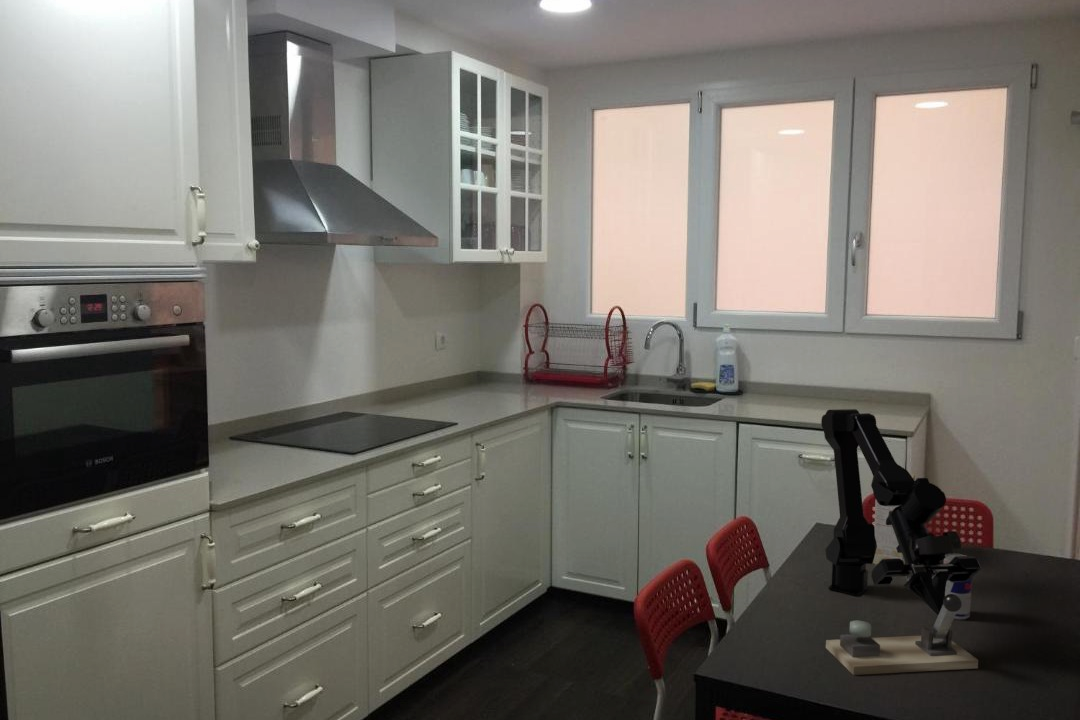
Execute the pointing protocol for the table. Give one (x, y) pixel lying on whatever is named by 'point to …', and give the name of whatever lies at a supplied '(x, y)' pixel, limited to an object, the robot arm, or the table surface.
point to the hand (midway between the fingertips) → (941, 614)
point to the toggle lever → (945, 619)
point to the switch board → (899, 654)
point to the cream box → (885, 534)
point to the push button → (860, 628)
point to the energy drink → (959, 591)
